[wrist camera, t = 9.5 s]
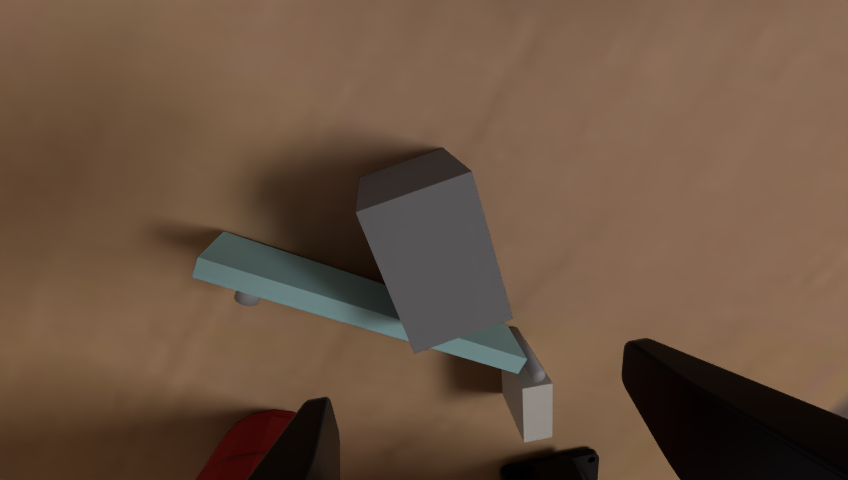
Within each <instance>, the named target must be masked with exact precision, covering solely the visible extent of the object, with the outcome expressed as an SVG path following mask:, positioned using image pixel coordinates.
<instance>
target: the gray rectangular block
mask: <svg viewBox="0 0 848 480" xmlns="http://www.w3.org/2000/svg"><path fill="white" fill-rule="evenodd" d="M356 214H357V217H358V219H359V222H360V224H361V226H362V229H363V231H364V234H365V236H366V239H367V241H368V243H369V246H370V248H371V251H372V253H373V255H374V258H375V260H376V263H377V265H378V267H379V270H380V272H381V275H382V277H383V279H384V282H385V284H386V287H387V289H388V292H389V294H390V296H391V299H392V301H393V304H394V306H395V308H396V311H397V313H398V316H399V318H400V320H401V323H402V325H403V328H404V330H405V332H406V335H407V337H408V340H409V342H410V344H411V347H412V349H413V352H414V354H415V353H418V352H421V351H423V350H426V349H429V348H432V347H435V346H437V345H440V344H443V343H446V342H449V341H452V340H454V339H457V338H460V337H463V336H466V335H468V334H471V333H474V332H477V331H480V330H483V329H485V328H488V327H491V326H494V325H497V324H500V323H502V322H505V321H508V320H511V319H513V317H512V313H511V310H510V306H509V302H508V299H507V295H506V292H505V288H504V285H503V281H502V277H501V274H500V270H499V267H498V263H497V260H496V256H495V252H494V249H493V245H492V242H491V238H490V235H489V231H488V227H487V224H486V220H485V217H484V213H483V210H482V206H481V202H480V199H479V195H478V192H477V188H476V185H475V181H474V177H473V174H472V171H471V170H470V169H468V168H467V167H466V166H465V165H463V164H462V163H461V162H460V161H459V160H457V159H456V158H455V157H454V156H452V155H451V154H450V153H449V152H448V151H446V150H445V149H444V148H441V149H438V150H435V151H432V152H430V153H427V154H424V155H421V156H418V157H416V158H413V159H410V160H407V161H404V162H401V163H399V164H396V165H393V166H390V167H387V168H384V169H382V170H379V171H376V172H373V173H370V174H367V175H365V176H362V177H359V186H358V195H357V205H356Z"/></svg>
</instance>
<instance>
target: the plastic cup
mask: <svg viewBox="0 0 848 480" xmlns="http://www.w3.org/2000/svg"><path fill="white" fill-rule="evenodd" d="M295 414H296V413H295V412H287V411H279V410H271V411H265V412H259V413H254V414H252V415H250V416H248V417H246V418H244V419H243V420H241V421H239V422H237V423H236V424H235V425H234V427H233V428H232V429H231V430H230V431H229V432H228V433H227V434H226V436H225V437H224V438H223V439H222V441H221V442H220V443H219V444H218V446H217V447H216V449H215V451H214V452H213V454H212V455H211V457H210V458H209V460H208V462H207V463H206V465H205V466H204V468H203V469H202V471H201V473H200V474H199V475H198V477H197V478H196V479H195V480H247V478H248V477H249V476H250V474H251V473H252V472H253V470H254V469H255V468H256V466H257V465H258V464H259V462H260V461H261V460H262V458H263V457H264V456H265V454H266V453H267V452H268V450H269V449H270V448H271V446H272V445H273V444H274V442H275V441H276V440H277V438H278V437H279V436H280V434H281V433H282V432H283V430H284V429H285V428H286V426H287V425H288V424H289V422H290V421H291V420H292V418H293V417H294V416H295Z"/></svg>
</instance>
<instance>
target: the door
mask: <svg viewBox="0 0 848 480" xmlns="http://www.w3.org/2000/svg"><path fill="white" fill-rule="evenodd" d="M192 278H196V279H199V280H202V281H206V282H209V283H213V284H216V285H219V286H223V287H226V288H229V289H233V290H236V293H235V297H234V298H235V300H236V301H237V302H238V303H240V304H242V305H245V306H254V305H257V304H258V303H259V300H260V298H263V299H267V300H270V301H273V302H277V303H280V304H283V305H287V306H290V307H294V308H297V309H300V310H304V311H307V312H310V313H314V314H317V315H321V316H324V317H327V318H331V319H334V320H338V321H341V322H344V323H348V324H351V325H354V326H358V327H361V328H365V329H368V330H371V331H375V332H378V333H381V334H385V335H388V336H392V337H395V338H398V339H402V340H405V341H408V342H409V340H408V337H407V335H406V332H405V330H404V328H403V325H402V323H401V320H400V318H399V316H398V313H397V311H396V308H395V306H394V304H393V301H392V299H391V296H390V294H389V292H388V289H387V287H386V285H384V284H381V283H378V282H375V281H372V280H369V279H366V278H363V277H360V276H357V275H354V274H351V273H348V272H345V271H342V270H339V269H336V268H333V267H330V266H327V265H324V264H321V263H318V262H315V261H312V260H309V259H306V258H303V257H300V256H297V255H294V254H291V253H288V252H285V251H282V250H279V249H276V248H273V247H270V246H267V245H263V244H260V243H257V242H254V241H251V240H248V239H245V238H242V237H239V236H236V235H233V234H230V233H227V232H223V233H222V234H221V235H220V236H219V237H217V238H216V239H215V240H214V241H213V242H212V243H211V244H210V245H209V246H208V247H207V248H206V249H205V250H204V251H203V252H202V253H201V254H200V255H199V256H198V258H197V261H196V265H195V268H194V272H193V275H192ZM432 349H435V350H439V351H442V352H446V353H449V354H452V355H456V356H459V357H462V358H466V359H469V360H473V361H476V362H479V363H483V364H486V365H490V366H493V367H496V368H500V369H503V370H506V371H510V372H513V373H517V374H519V372H520V370H521V369H522V367H523V365H524V364H525V362H526V360H527V358H526V356H525V355H524V353H523V351H522V349H521V348H520V346H519V344H518V343H517V341H516V339H515V337H514V336H513V334H512V332H511V330H510V329H509V327H508V325H505V324H502V323H500V324H497V325H494V326H491V327H488V328H485V329H483V330H480V331H477V332H474V333H471V334H468V335H466V336H463V337H460V338H457V339H454V340H452V341H449V342H446V343H443V344H440V345H437V346H435V347H432Z"/></svg>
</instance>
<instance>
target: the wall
mask: <svg viewBox="0 0 848 480" xmlns="http://www.w3.org/2000/svg"><path fill="white" fill-rule="evenodd" d="M509 329H510V330H511V332H512V334H513V336H514V337H515V339H516V341H517V343H518V344H519V346H520V348H521V349H522V351H523V353H524V355H525V356H526V358H527V360H526V362H525V364H524V365H523V367H522V369H521V370H520V372H519V374H517V373H513V372H510V371H506V370H503V369H501V373H502V392H503V396H504V398H505V400H506V403H507V405H508V407H509V410H510V412H511V414H512V416H513V419H514V421H515V423H516V426H517V428H518V430H519V432H520V435H521V437H522V439H523V442H524V443H525V442H530V441H535V440H540V439H545V438H550V437H552V393H553V383H552V382H551V380H550V378H549V377H548V375H547V374H546V372H545V370H544V369H543V367H542V365H541V364H540V362H539V361H538V359H537V357H536V356H535V354H534V353H533V351H532V349H531V348H530V346H529V345H528V343H527V341H526V340H525V339H524V338H523V336H522V335H521V333H520V331H519V330H518V328H516V327H511V328H509Z"/></svg>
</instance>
